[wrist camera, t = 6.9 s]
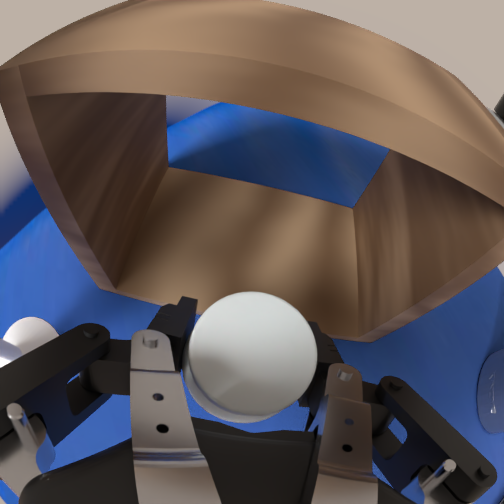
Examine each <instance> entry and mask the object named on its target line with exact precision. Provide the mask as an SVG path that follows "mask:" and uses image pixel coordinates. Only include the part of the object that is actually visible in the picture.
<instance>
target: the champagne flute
mask: <svg viewBox="0 0 504 504" xmlns="http://www.w3.org/2000/svg"><path fill="white" fill-rule="evenodd" d="M58 336H59V335H58V333H57V332H56V331H55V329H54V328H53V327H52V326H51V325H50V324H49V323H47V322H46V321H44V320H43V319H40V318H37V317H27V318H23V319H20V320H18V321H17V322H15V323H14V324H13V325H12V326H11V327H10V328H9V329H8V331H7V332H6V334H5V336H4V338H3V339H1V338H0V368H1V367H3V366H4V365H6V364H8V363H10V362H12V361H13V360H15V359H17V358H19V357H21V356H23V355H24V354H26V353H28V352H30V351H32V350H34V349H36V348H37V347H39V346H41V345H43V344H45V343H47V342H49V341H50V340H52V339H54V338H56V337H58Z"/></svg>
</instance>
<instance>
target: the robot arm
mask: <svg viewBox="0 0 504 504" xmlns="http://www.w3.org/2000/svg"><path fill="white" fill-rule="evenodd" d="M197 304H198V299H194V298H190V297H185V296H182V297H181V299H180V300H179V302H178V304H177V305H174V304H170V303H168V304H166V305H164V306H162V307H161V308H160V310H159V311H158V313H157V314H156V316H155V318H154V319H153V320H152V322H151V323H150V325H149V326H148V328H147V329H146V330H140V331H137V332H135V333H134V334H133V335H132V340H118V339H110V332H109V331H108V329H107V328H105V327H104V326H102V325H99V324H94V323H86V324H81V325H79V326H77V327H75V328H73V329H71V330H69V331H67V332H65V333H64V334H62V335H60V336H58V337H56V338H54V339H52V340H50V341H49V342H47V343H45V344H43V345H41V346H39V347H37V348H36V349H34V350H32V351H30V352H28V353H26V354H24V355H23V356H21V357H19V358H17V359H15V360H13V361H12V362H10V363H8V364H6V365H4V366H3V367H1V368H0V480H3V481H4V482H5V483H6V484H7V485H8V486H9V488H10V489H11V490H12V491H13V492H14V493H15V494H16V495H17V496H18V497H19V504H473V503H474V502H475V501H476V500H477V499H478V498H480V497H481V496H482V495H483V494H484V493H485V492H486V491H487V490H488V489H489V488H490V487H492V486H493V485H494V483H495V482H496V480H497V472H496V469H495V468H494V466H493V465H492V464H491V463H490V462H489V461H488V460H487V459H486V458H485V457H484V456H483V455H482V454H481V453H480V452H479V451H478V450H477V449H475V448H474V447H473V446H472V445H471V444H470V443H469V442H468V441H467V440H466V439H465V438H464V437H463V436H462V435H461V434H460V433H459V432H458V431H457V430H456V429H455V428H453V427H452V426H451V425H450V424H449V423H448V422H447V421H446V420H445V419H444V418H443V417H442V416H441V415H440V414H439V413H438V412H437V411H436V410H434V409H433V408H432V407H431V406H430V405H429V404H428V403H427V402H426V401H425V400H424V399H423V398H422V397H421V396H420V395H419V394H417V393H416V392H415V391H414V390H413V389H412V388H411V387H410V386H409V385H408V384H407V383H406V382H404V381H403V380H401V379H399V378H397V377H393V376H385V377H383V378H382V379H381V380H380V382H379V384H378V385H376V384H372V383H368V382H364V381H362V376H361V374H360V372H359V371H358V370H357V369H355V368H354V367H352V366H350V365H347V364H344V362H343V360H342V358H341V356H340V354H339V352H337V351H338V350H337V348H336V347H335V344H334V342H333V340H332V339H331V338H330V337H329V336H328V335H326V334H325V333H322V332H321V330H320V328H319V326H318V324H317V322H313V321H307V320H306V321H307V322H308V324H309V326H310V328H311V330H312V332H313V335H314V338H315V341H316V346H317V364H316V370H315V373H314V376H313V378H312V381H311V383H310V384H309V386H308V388H307V389H306V391H305V392H304V393H303V395H302V396H301V397H300V398H299V399H298V402H299V407H309V409H310V410H309V412H308V414H307V416H306V419H305V423H304V427H303V430H302V431H289V430H281V431H271V432H260V433H250V432H246V431H243V430H240V429H237V428H234V427H231V426H228V425H225V424H222V423H220V422H216V421H210V420H205V419H200V418H195V417H191V416H190V413H189V409H188V405H187V401H186V397H185V392H184V388H183V384H182V379H181V375H180V372H181V369H182V355H183V350H184V346H185V343H186V341H187V339H188V337H189V335H190V333H191V332H192V330H193V329H194V323H195V316H196V310H197ZM78 373H79V376H78V377H76V378H75V379H73V380H72V381H71V382H69V383H68V381H69V380H70V379H71V378H72V377H74V376H75V375H77V374H78ZM67 383H68V384H67ZM112 394H117V395H130V409H131V431H132V438H130V439H127V440H125V441H123V442H121V443H119V444H117V445H114V446H112V447H110V448H108V449H105V450H103V451H101V452H98V453H96V454H94V455H91V456H89V457H86V458H84V459H81V460H79V461H76V462H73V463H71V464H68V465H65V466H63V467H60V468H57V469H54V470H51V471H48V470H49V469H50V466H51V464H52V463H53V462H54V459H55V450H54V447H55V446H56V445H57V444H58V443H59V442H60V441H62V440H63V439H64V438H65V437H66V436H67V435H68V434H70V433H71V432H72V431H73V430H74V429H75V428H76V427H78V426H79V425H80V424H81V423H82V422H83V421H84V420H86V419H87V418H88V417H89V416H90V415H91V414H92V413H93V412H95V411H96V410H97V409H98V408H99V407H100V406H101V405H102V404H104V403H105V402H106V401H107V400H108V399H109V398H110V397H111V396H112ZM477 406H478V413H479V417H480V421H481V423H482V425H483V427H484V429H485V430H486V431H487V432H489V433H501V432H504V349H502V350H500V351H497V352H495V353H493V354H491V355H490V356H489V357H488V358H487V360H486V361H485V363H484V365H483V368H482V370H481V374H480V377H479V383H478V392H477ZM394 418H396V419H397V420H398V421H399V422H400V423H401V424H402V425H403V426H404V428H405V429H406V430H407V439H406V441H405V442H404V443H403V444H402V443H401V442H400V441H399V440H398V439H397V437H396V436H395V435H394V434H393V433H392V432H391V431H390V429H389V428H388V426H389V425H390V424H391V422H392V421H393V419H394ZM372 460H373V461H374V463H375V464H376V465H377V467H378V468H379V469H380V471H381V472H382V473H383V475H384V476H385V477H386V479H387V480H388V481H389V483H390V484H391V485H392V487H393V488H392V487H391V486H389V485H388V484H386V483H385V482H383V481H382V480H380V479H379V478H377V476H376V475H374V474H373V472H372Z"/></svg>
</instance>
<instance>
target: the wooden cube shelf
mask: <svg viewBox="0 0 504 504" xmlns="http://www.w3.org/2000/svg"><path fill="white" fill-rule="evenodd" d="M166 95H171V96H181V97H190V98H198V99H206V100H213V101H218V102H224V103H230V104H236V105H241V106H246V107H251V108H256V109H261V110H266V111H270V112H274V113H279V114H283V115H287V116H291V117H295V118H299V119H302V120H306V121H309V122H313V123H316V124H320V125H323V126H327V127H330V128H333V129H336V130H339V131H342V132H345V133H348V134H351V135H354V136H357V137H360V138H363V139H366V140H368V141H371V142H374V143H376V144H379V145H382V146H384V147H387V148H389V149H390V151H389V152H388V154H387V156H386V157H385V159H384V160H383V162H382V164H381V165H380V167H379V169H378V170H377V172H376V173H375V175H374V176H373V178H372V180H371V181H370V183H369V184H368V186H367V187H366V189H365V190H364V192H363V194H362V195H361V197H360V198H359V200H358V201H357V203H356V204H355V206H354V207H353V208H349V207H346V206H342V205H338V204H335V203H331V202H327V201H324V200H320V199H316V198H312V197H308V196H304V195H300V194H296V193H292V192H288V191H284V190H280V189H276V188H271V187H267V186H263V185H258V184H254V183H249V182H245V181H240V180H235V179H230V178H225V177H220V176H215V175H210V174H205V173H199V172H194V171H188V170H183V169H177V168H171V167H169V165H168V147H167V126H166V124H167V123H166ZM0 103H1V106H2V109H3V112H4V115H5V118H6V121H7V123H8V126H9V129H10V131H11V134H12V136H13V138H14V141H15V144H16V146H17V148H18V151H19V153H20V155H21V157H22V160H23V162H24V164H25V166H26V168H27V170H28V172H29V175H30V177H31V178H32V180H33V183H34V184H35V186H36V188H37V190H38V192H39V194H40V196H41V198H42V200H43V202H44V203H45V205H46V207H47V209H48V211H49V212H50V214H51V216H52V218H53V219H54V221H55V223H56V224H57V226H58V228H59V229H60V231H61V233H62V234H63V236H64V238H65V239H66V241H67V242H68V244H69V245H70V247H71V249H72V250H73V252H74V253H75V255H76V256H77V258H78V259H79V261H80V262H81V264H82V265H83V266H84V268H85V269H86V271H87V272H88V274H89V275H90V276H91V278H92V279H93V281H94V282H95V283H96V285H97V286H98V287H99V289H103V290H106V291H109V292H113V293H116V294H120V295H123V296H127V297H131V298H134V299H138V300H142V301H145V302H149V303H153V304H157V305H161V306H164V305H166V304H168V303H170V304H174V305H177V304H178V302H179V300H180V299H181V297H182V296H185V297H190V298H194V299H198V304H197V310H196V314H199V315H202V314H203V313H204V312H205V311H206V310H207V309H208V308H209V307H210V306H211V305H213V304H214V303H215V302H216V301H218V300H220V299H222V298H224V297H226V296H229V295H232V294H235V293H240V292H249V291H255V292H263V293H267V294H271V295H274V296H276V297H279V298H281V299H283V300H285V301H286V302H288V303H289V304H291V305H292V306H293V307H295V308H296V309H297V310H298V311H299V312H300V313H301V314H302V316H303V317H304V318H305V319H306V320H307V321H313V322H317V324H318V326H319V328H320V330H321V332H322V333H325V334H326V335H328V336H329V337H330V338H334V339H342V340H350V341H359V342H368V343H372V342H374V341H376V340H378V339H380V338H382V337H384V336H386V335H388V334H390V333H391V332H393V331H395V330H397V329H399V328H401V327H403V326H405V325H406V324H408V323H410V322H412V321H414V320H415V319H417V318H419V317H421V316H422V315H424V314H426V313H428V312H429V311H431V310H433V309H434V308H436V307H438V306H439V305H441V304H443V303H444V302H446V301H447V300H449V299H450V298H452V297H454V296H455V295H457V294H458V293H460V292H461V291H463V290H464V289H466V288H467V287H469V286H470V285H472V284H473V283H475V282H476V281H477V280H479V279H480V278H482V277H483V276H484V275H486V274H487V273H489V272H490V271H491V270H493V269H494V268H495V267H497V266H498V265H499V264H500V263H502V262H503V261H504V129H503V127H502V126H501V125H500V124H499V122H498V121H497V120H496V119H495V117H494V116H493V115H492V114H491V113H490V112H489V110H488V109H487V108H486V107H485V106H484V105H483V104H482V103H481V101H480V100H479V99H478V98H477V97H476V96H475V95H474V94H473V93H472V92H471V91H470V90H469V89H468V88H467V87H466V86H465V85H464V84H463V83H462V82H461V81H460V80H459V79H458V78H457V77H456V76H455V75H453V74H451V73H450V72H449V71H447V70H445V69H444V68H442V67H440V66H439V65H437V64H436V63H434V62H432V61H430V60H429V59H427V58H425V57H423V56H421V55H420V54H418V53H416V52H414V51H412V50H410V49H408V48H406V47H404V46H402V45H400V44H398V43H396V42H394V41H392V40H389V39H388V38H385V37H383V36H381V35H378V34H376V33H374V32H371V31H369V30H366V29H364V28H361V27H359V26H356V25H353V24H350V23H348V22H345V21H342V20H339V19H336V18H333V17H330V16H327V15H323V14H320V13H316V12H312V11H309V10H305V9H301V8H297V7H293V6H289V5H284V4H279V3H274V2H269V1H263V0H128V1H125V2H122V3H119V4H117V5H114V6H111V7H109V8H106V9H104V10H101V11H98V12H96V13H94V14H91V15H89V16H86V17H84V18H82V19H80V20H78V21H76V22H73V23H71V24H69V25H67V26H65V27H63V28H61V29H59V30H57V31H55V32H54V33H52V34H50V35H48V36H46V37H45V38H43V39H41V40H39V41H38V42H36V43H34V44H33V45H31V46H30V47H28V48H26V49H25V50H23V51H22V52H20V53H19V54H17V55H16V56H14V57H13V58H11V59H10V60H9V61H7V62H6V63H4V64H3V65H2V66H0Z"/></svg>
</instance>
